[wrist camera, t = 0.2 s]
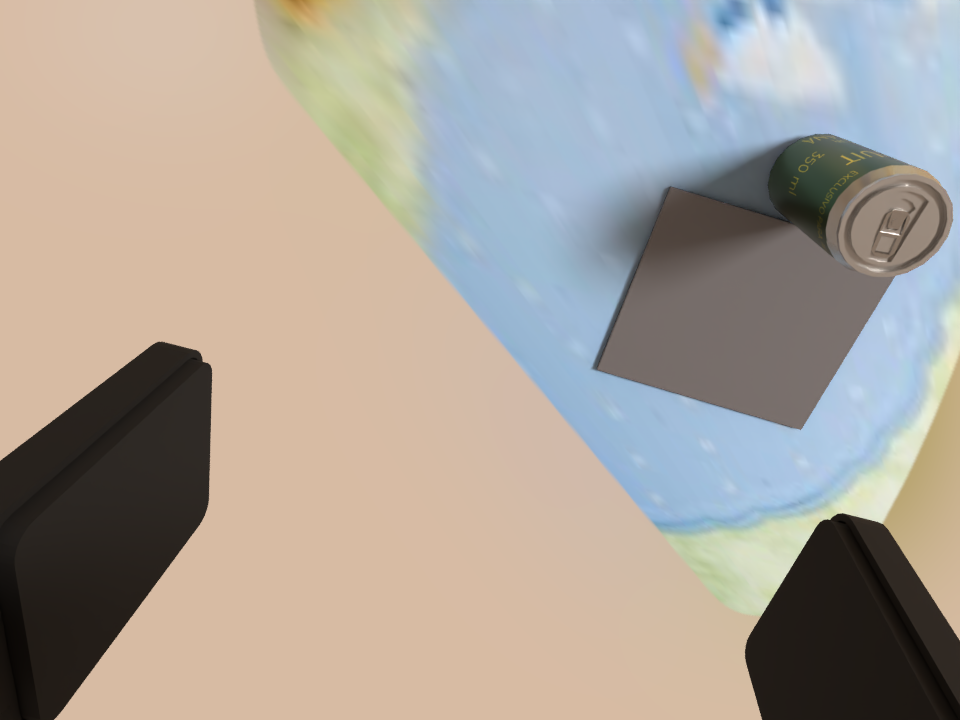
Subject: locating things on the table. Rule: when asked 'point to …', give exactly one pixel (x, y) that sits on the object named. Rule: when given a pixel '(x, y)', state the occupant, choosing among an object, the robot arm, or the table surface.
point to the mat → (738, 311)
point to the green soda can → (861, 204)
